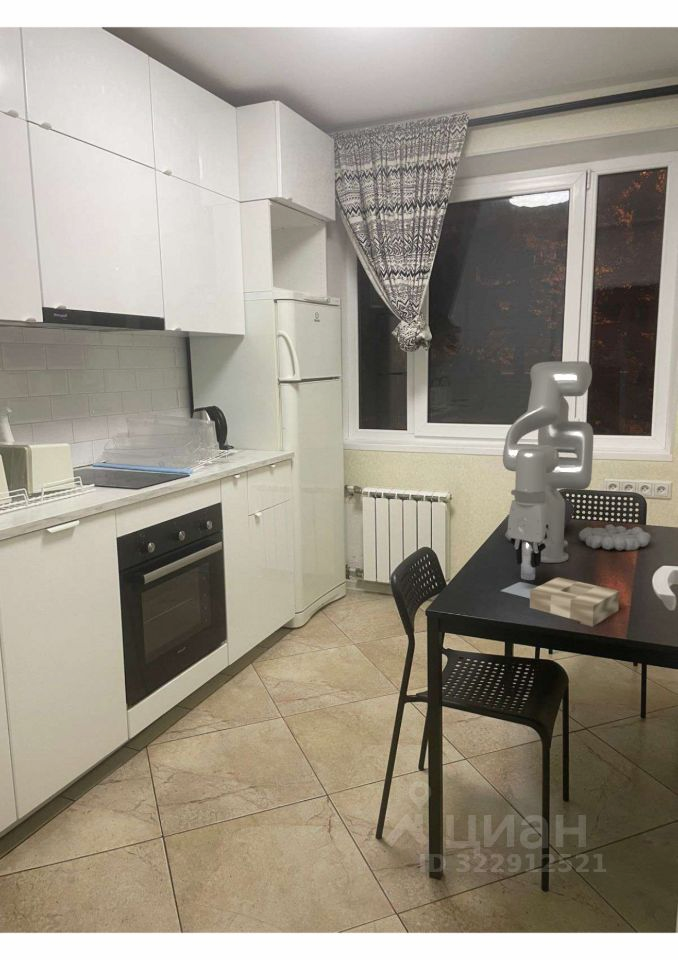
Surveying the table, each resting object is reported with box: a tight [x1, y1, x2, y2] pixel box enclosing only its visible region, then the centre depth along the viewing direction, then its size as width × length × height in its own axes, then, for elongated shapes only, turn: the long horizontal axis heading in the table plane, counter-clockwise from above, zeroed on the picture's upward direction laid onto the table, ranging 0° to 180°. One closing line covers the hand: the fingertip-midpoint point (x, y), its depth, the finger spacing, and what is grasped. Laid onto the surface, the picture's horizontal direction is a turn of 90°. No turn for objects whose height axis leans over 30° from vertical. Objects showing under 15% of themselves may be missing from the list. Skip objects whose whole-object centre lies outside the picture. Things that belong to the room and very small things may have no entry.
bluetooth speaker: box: [563, 498, 575, 529], centre depth 244 cm, size 23×9×10 cm, turn 154°
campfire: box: [578, 524, 651, 552], centre depth 222 cm, size 22×21×6 cm
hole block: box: [529, 576, 620, 627], centre depth 164 cm, size 14×16×5 cm
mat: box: [500, 581, 539, 599], centre depth 178 cm, size 10×10×1 cm
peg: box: [520, 540, 536, 581], centre depth 177 cm, size 4×4×12 cm
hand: (528, 563), depth 177 cm, fingers closed on peg, 3 cm apart
